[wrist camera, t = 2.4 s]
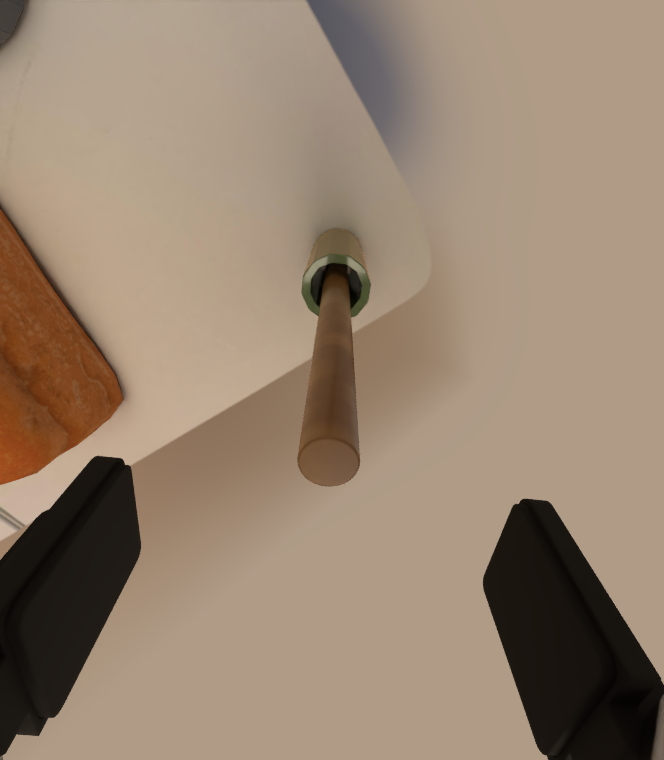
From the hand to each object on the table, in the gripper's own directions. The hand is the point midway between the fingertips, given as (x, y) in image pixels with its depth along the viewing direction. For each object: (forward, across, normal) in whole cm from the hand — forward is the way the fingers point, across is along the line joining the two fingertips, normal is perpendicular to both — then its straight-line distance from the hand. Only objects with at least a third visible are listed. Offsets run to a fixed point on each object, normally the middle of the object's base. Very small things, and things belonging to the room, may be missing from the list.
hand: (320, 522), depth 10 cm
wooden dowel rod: (+32, 0, -1) cm, 32 cm away
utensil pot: (+32, 0, -1) cm, 33 cm away
